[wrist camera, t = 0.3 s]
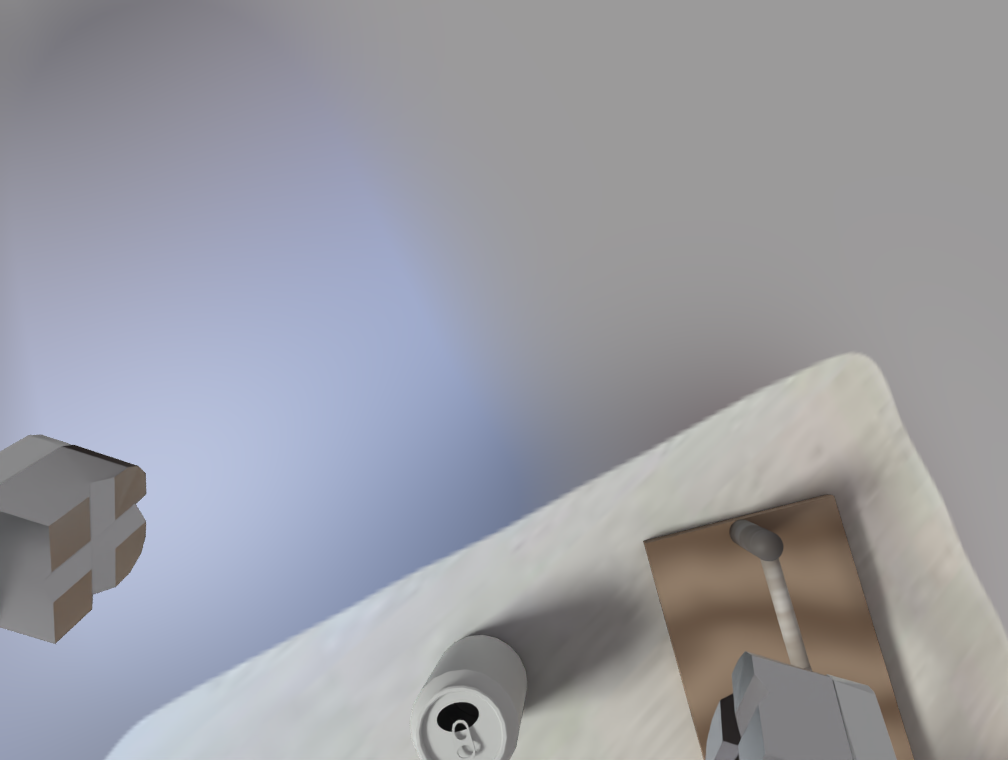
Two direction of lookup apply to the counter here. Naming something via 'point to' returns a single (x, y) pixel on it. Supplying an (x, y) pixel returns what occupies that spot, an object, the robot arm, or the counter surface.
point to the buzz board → (769, 605)
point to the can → (471, 703)
